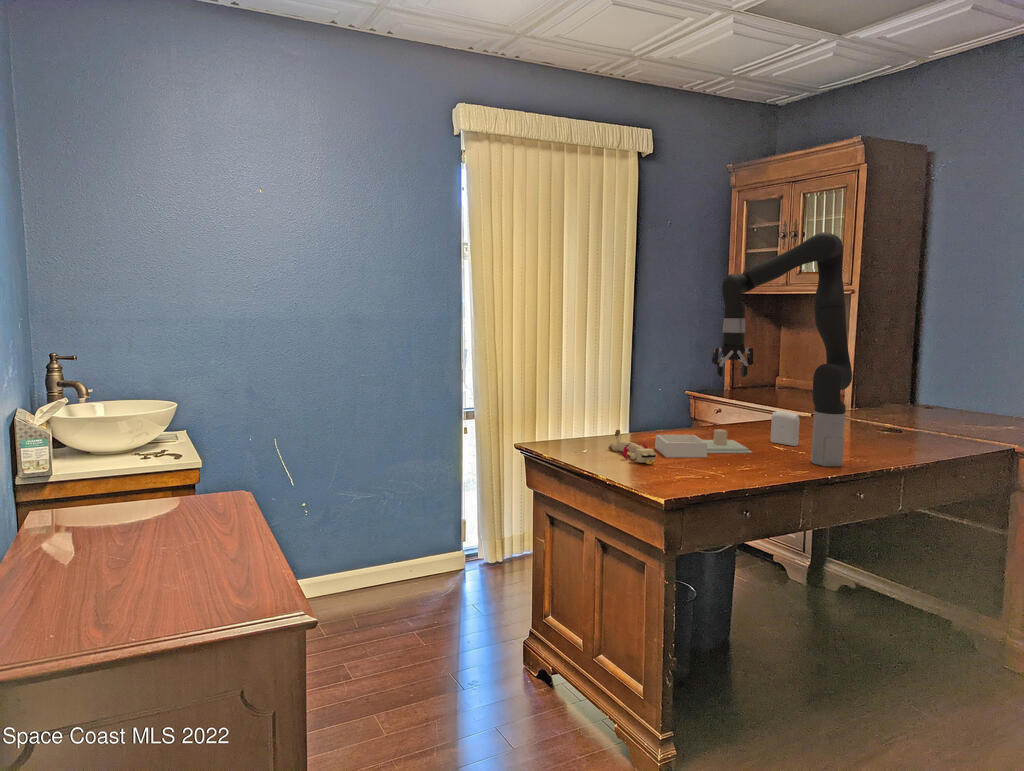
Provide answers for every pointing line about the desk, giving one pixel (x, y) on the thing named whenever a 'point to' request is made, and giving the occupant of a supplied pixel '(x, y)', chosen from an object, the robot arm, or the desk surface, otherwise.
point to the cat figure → (633, 450)
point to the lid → (723, 442)
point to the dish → (681, 446)
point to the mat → (729, 451)
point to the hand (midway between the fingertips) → (731, 376)
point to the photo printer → (785, 428)
